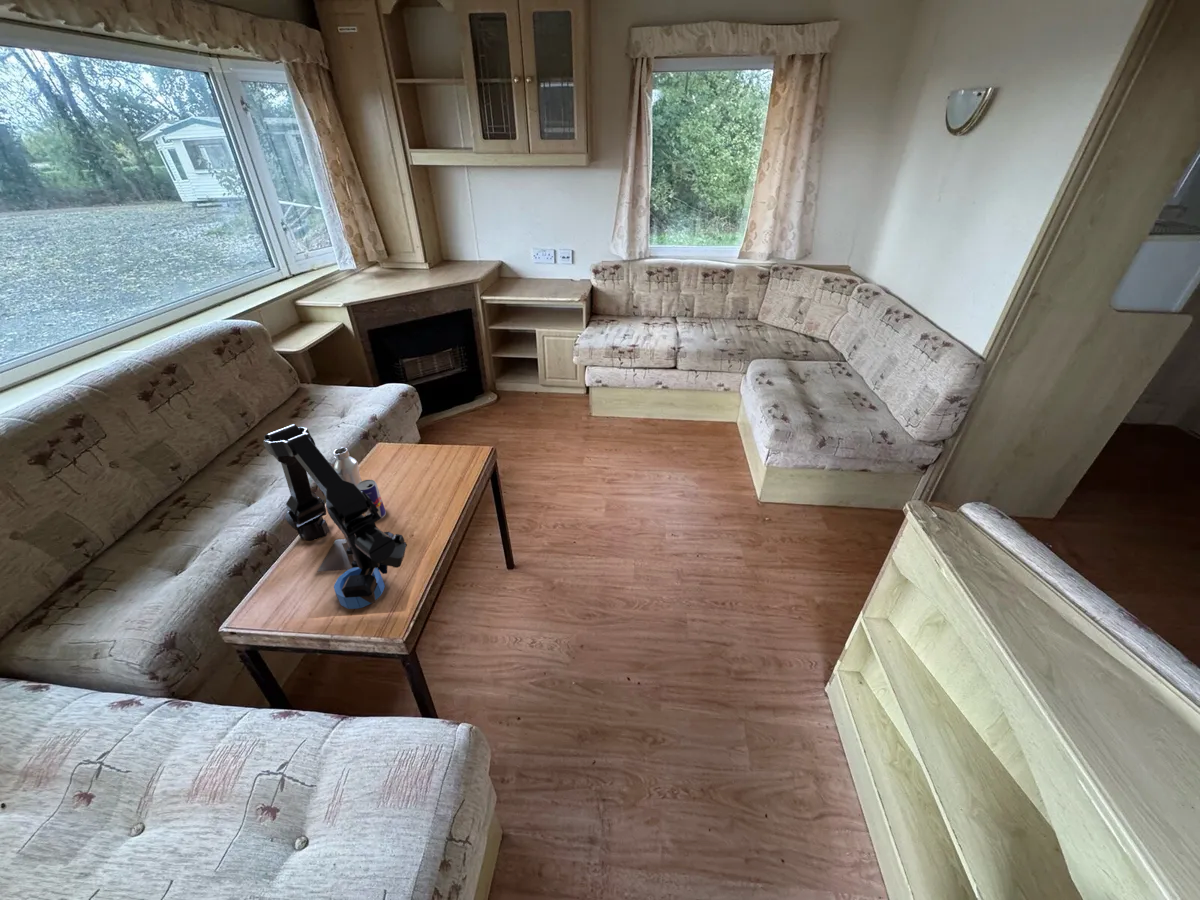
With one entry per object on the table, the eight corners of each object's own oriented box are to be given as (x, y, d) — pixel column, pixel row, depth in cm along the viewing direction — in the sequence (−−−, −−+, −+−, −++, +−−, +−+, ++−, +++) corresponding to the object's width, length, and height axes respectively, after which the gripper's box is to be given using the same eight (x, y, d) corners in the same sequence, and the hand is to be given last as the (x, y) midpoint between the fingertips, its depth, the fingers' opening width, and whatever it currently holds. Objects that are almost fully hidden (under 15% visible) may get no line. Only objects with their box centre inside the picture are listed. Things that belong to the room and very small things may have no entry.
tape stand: (318, 573, 124) (311, 559, 121) (336, 541, 134) (330, 527, 131) (365, 570, 125) (360, 556, 122) (380, 539, 135) (375, 525, 132)
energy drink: (379, 523, 140) (368, 491, 134) (363, 521, 141) (351, 489, 135) (390, 512, 145) (379, 480, 138) (374, 510, 146) (363, 478, 139)
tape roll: (333, 612, 113) (327, 598, 111) (349, 579, 122) (343, 566, 120) (377, 609, 114) (372, 595, 111) (390, 577, 123) (385, 563, 120)
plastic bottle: (343, 509, 146) (322, 454, 136) (360, 497, 151) (341, 443, 141) (359, 514, 144) (339, 459, 133) (376, 501, 149) (358, 447, 139)
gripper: (385, 567, 101) (402, 616, 110) (408, 511, 117) (422, 557, 126) (331, 571, 101) (352, 619, 109) (361, 514, 117) (378, 560, 125)
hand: (379, 587), depth 117 cm, fingers open, 9 cm apart
